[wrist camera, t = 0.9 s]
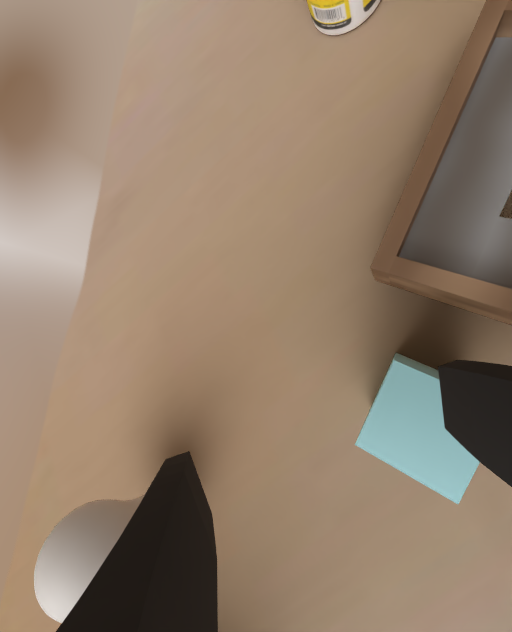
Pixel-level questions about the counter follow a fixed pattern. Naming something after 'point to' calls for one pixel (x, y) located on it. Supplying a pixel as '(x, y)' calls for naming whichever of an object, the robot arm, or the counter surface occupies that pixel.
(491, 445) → the robot arm
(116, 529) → the lightbulb
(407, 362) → the peg
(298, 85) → the counter surface
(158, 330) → the counter surface
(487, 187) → the bore box
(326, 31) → the supplement bottle
